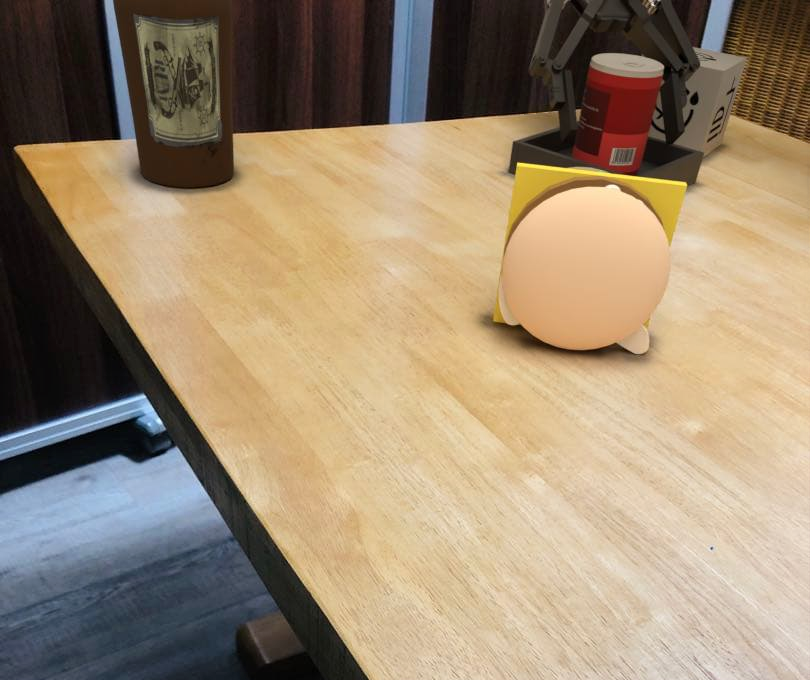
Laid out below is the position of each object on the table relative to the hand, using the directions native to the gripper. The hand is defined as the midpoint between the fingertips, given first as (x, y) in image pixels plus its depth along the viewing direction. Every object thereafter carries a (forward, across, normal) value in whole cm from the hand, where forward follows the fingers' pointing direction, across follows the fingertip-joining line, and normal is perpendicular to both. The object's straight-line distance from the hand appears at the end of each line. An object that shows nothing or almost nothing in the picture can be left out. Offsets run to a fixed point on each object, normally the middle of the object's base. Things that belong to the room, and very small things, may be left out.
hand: (623, 137), depth 93 cm
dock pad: (+2, 0, -6) cm, 6 cm away
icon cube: (-7, -15, -15) cm, 22 cm away
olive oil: (+1, +46, -6) cm, 47 cm away
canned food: (+1, 0, -5) cm, 5 cm away
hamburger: (+28, +18, +20) cm, 39 cm away
